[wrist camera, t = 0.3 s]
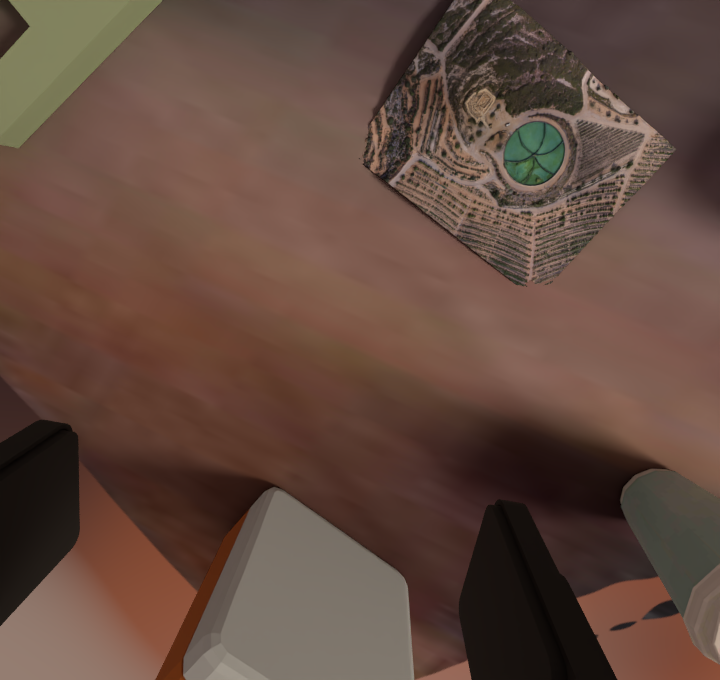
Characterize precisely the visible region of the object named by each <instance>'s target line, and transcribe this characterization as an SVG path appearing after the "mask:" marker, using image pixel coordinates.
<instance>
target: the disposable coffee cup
mask: <svg viewBox="0 0 720 680" xmlns="http://www.w3.org/2000/svg"><path fill="white" fill-rule="evenodd" d="M620 502H621V508H622V510H623V513H624V515H625V518H626V520H627V522H628V524H629V525H630V527H631V529H632V531H633V532H634V534H635V536H636V537H637V539H638V541H639V543H640V544H641V546H642V548H643V550H644V551H645V553H646V555H647V557H648V558H649V560H650V562H651V564H652V565H653V567H654V569H655V570H656V572H657V574H658V576H659V577H660V579H661V581H662V583H663V584H664V586H665V588H666V590H667V591H668V593H669V595H670V597H671V598H672V600H673V602H674V604H675V605H676V607H677V609H678V610H679V612H680V614H681V616H682V617H683V620H684V622H685V625H686V627H687V630H688V632H689V635H690V637H691V639H692V642H693V645H694V646H696V647H697V648H698V649H699V650H700V651H701V652H702V654H703V655H704V656H706V657H707V658H709V659H711V660H713V661H714V662H716V663H718V664H720V499H719V498H717V497H716V496H714V495H712V494H711V493H709V492H707V491H706V490H704V489H703V488H701V487H699V486H698V485H696V484H695V483H693V482H691V481H690V480H688V479H686V478H685V477H683V476H682V475H680V474H678V473H677V472H675V471H670V470H668V469H649V470H646V471H644V472H641V473H639V474H636V475H634V476H633V477H632V478H631V480H630V481H629V482H628V483H627V484H626V485H625V486H624V487H623V491H622V495H621V499H620Z"/></svg>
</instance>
